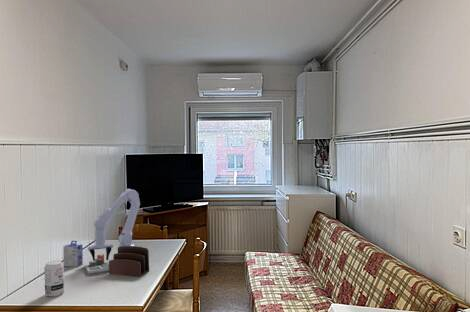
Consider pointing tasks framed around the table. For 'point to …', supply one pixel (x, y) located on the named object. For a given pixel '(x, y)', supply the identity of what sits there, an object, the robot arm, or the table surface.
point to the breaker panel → (97, 269)
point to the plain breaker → (98, 261)
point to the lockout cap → (101, 257)
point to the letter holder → (130, 261)
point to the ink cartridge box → (72, 255)
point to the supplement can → (54, 278)
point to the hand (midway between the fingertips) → (100, 260)
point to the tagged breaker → (92, 264)
